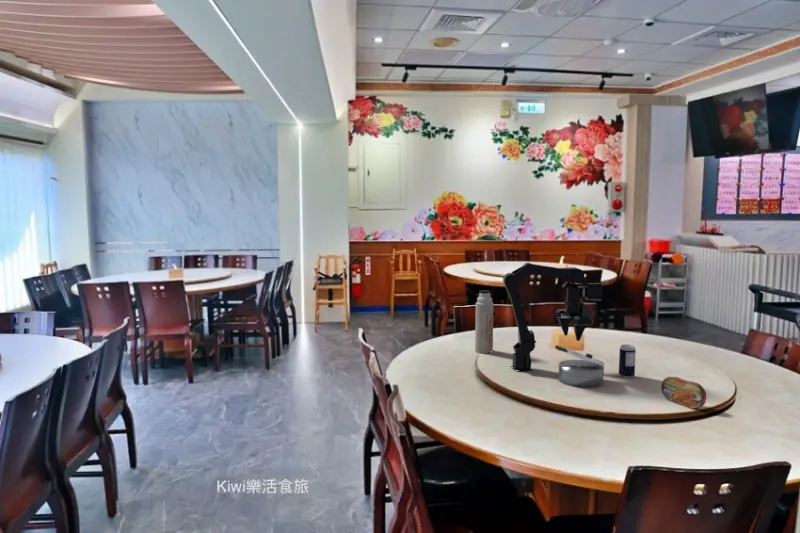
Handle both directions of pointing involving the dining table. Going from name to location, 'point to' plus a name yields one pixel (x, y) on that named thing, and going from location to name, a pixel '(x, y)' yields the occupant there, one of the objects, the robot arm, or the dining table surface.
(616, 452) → the dining table surface
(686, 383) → the tin
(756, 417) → the dining table surface
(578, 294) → the robot arm
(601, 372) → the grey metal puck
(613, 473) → the dining table surface
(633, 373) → the beverage can
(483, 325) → the thermos bottle
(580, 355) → the cooker lid
